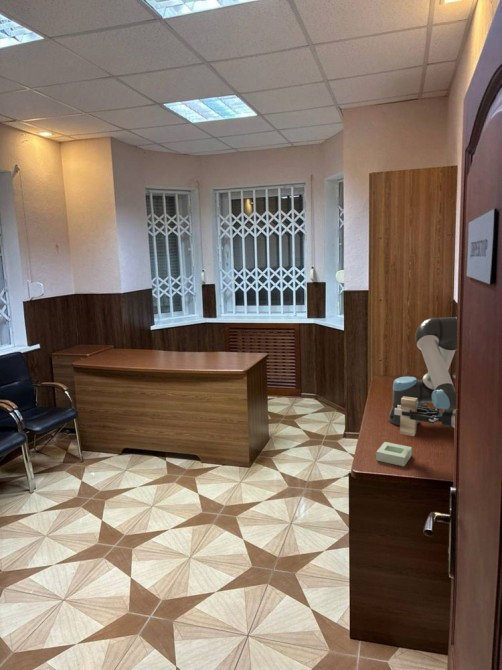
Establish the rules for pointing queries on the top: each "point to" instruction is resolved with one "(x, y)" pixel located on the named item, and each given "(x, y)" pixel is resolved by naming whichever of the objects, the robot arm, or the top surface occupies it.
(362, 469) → the top surface
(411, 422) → the wooden block
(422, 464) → the top surface
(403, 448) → the end cap
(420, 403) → the disk drive
